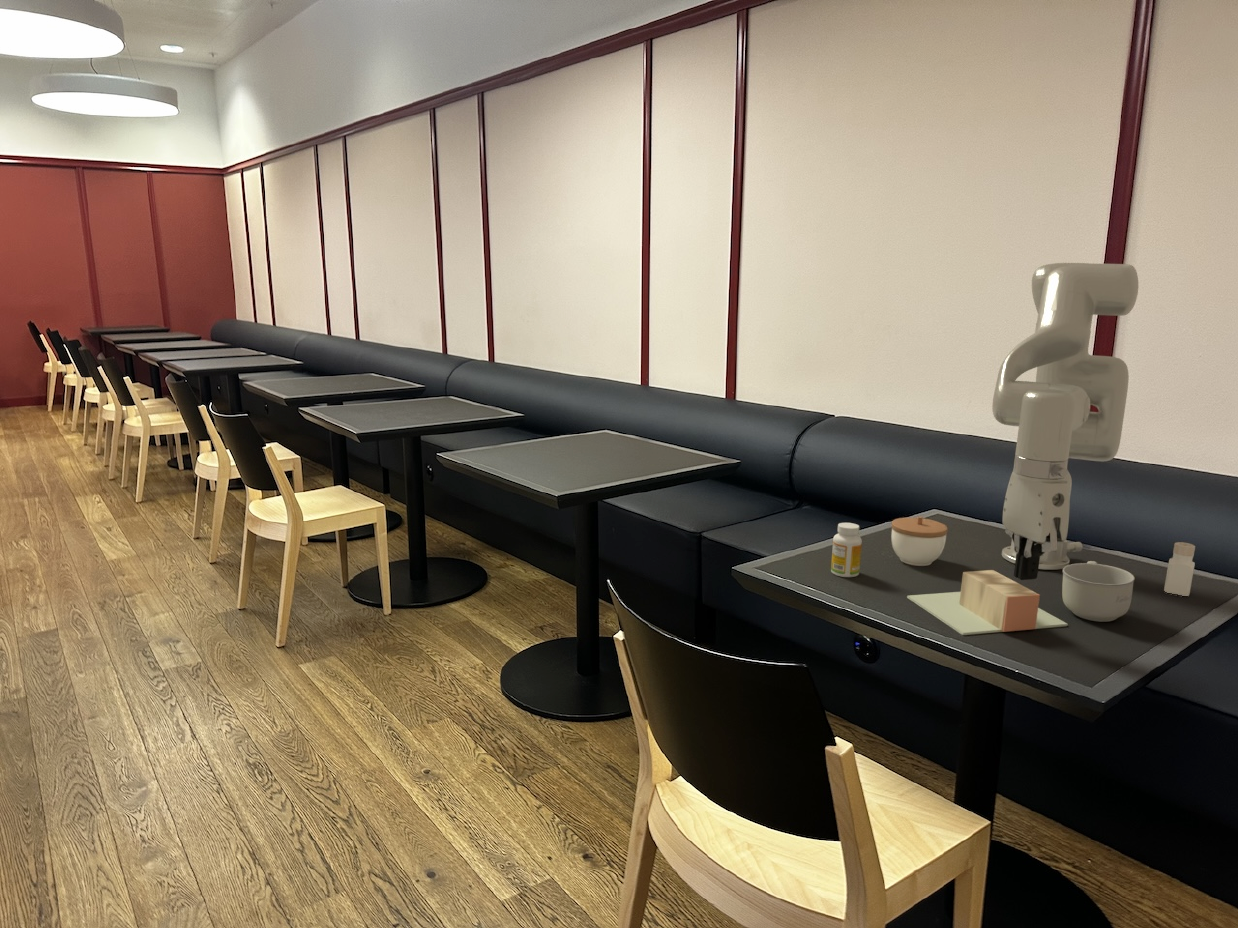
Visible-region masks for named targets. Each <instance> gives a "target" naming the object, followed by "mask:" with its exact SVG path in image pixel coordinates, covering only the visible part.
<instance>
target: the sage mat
mask: <svg viewBox="0 0 1238 928" xmlns="http://www.w3.org/2000/svg"><path fill="white" fill-rule="evenodd" d="M960 594H961V591H953V592H939V593H925V594H912V595H911V594H910V595H907V596H906V598H907V599H908V600H910V601H911V602H913V603H914V604H916V605H917V606H919V607H920V608H922V609H923V610H925V611H926V612H928V613H929V614H931V615H932V616H934V617H935V618H936V619H938V620H940V622H943V623H944V624H945V625H947V626H948V627H950V628H951V629H953V630H954V631H956V632H957V633H959V634H960V635H961V636H968V635H980V634H981V635H982V634H991V633H1004V632H1003V631H1002V630H1000V629H998V628H997V627H995V626H994V625H992V624H990V623H989V622H987V621H986V620H984V619H982V618H981V617H979V616H978V615H976V614H974V613H973V612H971V611H969V610H968V609H966V608H965V607H963V606H961V605H960V604H959V602H960ZM1061 627H1068V623H1067V622H1065V621H1064V620H1061V618H1060V619H1059V618H1058V617H1056V616H1054V615H1052V614H1050V613H1048V612H1047V611H1045V610H1044V609H1041V607H1038V613H1037V620H1036V627H1035V629H1034V630H1037V629H1038V630H1039V629H1049V628H1061Z"/></svg>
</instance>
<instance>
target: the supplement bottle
mask: <svg viewBox="0 0 1238 928" xmlns="http://www.w3.org/2000/svg"><path fill="white" fill-rule="evenodd" d="M859 534H860V525H859V524H856V523H852V522H839V523H838V524H837V533H836V534H835V535H834V536H833V539H832V550H831V551H832V552H831V562H830V565H831V566H830V572H831V574H833V575H834V576H837V577H840V578H854V577H858V576H859V574H860V570H861V569H860V567H861V559H862V558H861V557H862V555H861V554H862V546H863V545H862V544H863V541H862V538H861V537H860V536H859Z"/></svg>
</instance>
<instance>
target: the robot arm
mask: <svg viewBox="0 0 1238 928" xmlns="http://www.w3.org/2000/svg"><path fill="white" fill-rule="evenodd" d="M1031 293H1032V298H1033V302H1034V303H1033V304H1034V305H1035V309H1036V311H1037V320H1036V323H1035V330H1034V333H1033V334H1031V335H1029V336H1028V337H1027V338H1025V339H1023V340H1022V341H1021V342H1020V343H1018V344H1017V345H1016V346H1015V347H1014V348H1013V349H1012V350H1011V351H1010V352H1009V353H1008V354H1007V355H1006V357H1005V358H1004V359H1003V361H1002V362H1001V364H1000V367H999V371H998V375H997V377H996V383H995V387H994V392H993V398H992V413H993V414H992V415H993V417H994V418H995V421H997V422H998V423H1000V424H1002V425H1005V426H1010V427H1011V426H1012V427H1018V431H1017V439H1016V447H1015V454H1014V455H1015V456H1014V461H1013V469H1012V472H1011V474H1010V477H1009V482H1008V485H1007V489H1006V493H1005V498H1004V502H1003V510H1002V525H1003V527H1004V528H1005V530H1004V533H1005V534H1006V535H1008V536H1009V537H1010V538H1011V545H1009V546H1005V547H1004V548H1002V550H1001V557H1002V558H1003V559H1005V560H1006V561H1008V562H1009V563H1011V564H1014V568H1013V569H1014V570H1013V576H1014V577H1015V578H1016V579H1017V578H1018V580H1021V581H1025V580H1026V581H1029V580H1037V578H1038V574H1039V570H1049V571H1053V570H1055V571H1056V570H1063V568H1064V567H1065V566H1068V565H1070V558H1069V556H1067V554H1069V553H1070V552H1081V551H1082V550H1083V544H1082V542H1081V541H1076V542H1075V541H1074V542H1073V541H1071V542H1069V541H1068V540H1067V537H1068V530H1069V519H1070V505H1071V504H1070V501H1071V500H1070V499H1071V493H1072V487H1073V486H1072V485H1073V483H1072V482H1073V481H1072V475H1071V474H1070V472H1069V470H1068V463H1069V459H1073V460H1074V459H1075V460H1084V461H1092V462H1093V461H1094V462H1108V461H1111V460H1113V459H1114V458H1115V457H1116V456H1117V454H1118V451H1119V449H1120V444H1121V439H1122V434H1123V432H1122V431H1123V424H1124V419H1125V409H1126V403H1127V399H1128V388H1129V368H1128V365H1127V363H1126V362H1125V361H1124V359H1121V358H1119V357H1116V356H1109V355H1093V354H1092V355H1091V354H1089V345H1090V341H1091V340H1090V339H1091V333H1092V331H1091V329H1092V324H1093V323H1092V322H1093V317H1094V315H1095V316H1097V315H1098V316H1115V317H1116V316H1117V317H1118V316H1119V317H1121V316H1126V315H1129V314H1130V313H1131V312H1132V310H1133V309H1134V307H1135V304H1136V302H1137V299H1138V293H1139V275H1138V272H1137V270H1136V268H1135V266H1134V265H1132V264H1128V263H1126V264H1125V263H1089V262H1088V263H1087V262H1086V263H1085V262H1055V263H1050V264H1045V265H1041V266H1039V267H1037V269H1036V268H1035V270H1034V271H1033V274H1032V277H1031ZM1035 368H1036V373H1035V374H1036V375H1035V381H1029V380H1028V381H1027V380H1017V379H1018V378H1020V376H1022V374H1024V373H1026V372H1028V371H1030V370H1032V369H1035ZM1091 406H1093V407H1095V408H1097V410H1098V411H1091Z"/></svg>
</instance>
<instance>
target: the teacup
mask: <svg viewBox="0 0 1238 928" xmlns="http://www.w3.org/2000/svg"><path fill="white" fill-rule="evenodd" d="M1134 582H1135V575H1134V574H1132V573H1131V572H1129V571H1127V570H1125V569H1123V568H1120V567H1116V566H1111V565H1107V564H1100V563H1098V562H1097V561H1094V560H1090V561H1089V560H1088V561H1087V562H1083V563H1082V562H1080V563H1072V564H1069V565H1068V566H1065V567H1064V568H1063V569H1062V586H1061V587H1062V588H1061V589H1062V590H1061V591H1062V593H1061V594H1062V595H1061V596H1062V601H1063V604H1064V605H1065V607H1067V609H1068V610H1070V611H1071V612H1072V613H1073V614H1074V615H1075V616H1076V617H1079V618H1081V619H1083V620H1087V621H1092V622H1098V623H1099V622H1101V623H1104V622H1106V623H1108V622H1113V621H1115V620H1117V619H1118V618H1120V617H1123V616H1124V615H1125V614H1127V612H1128V611H1129V609H1130V606H1131V602H1132V597H1133V590H1134Z"/></svg>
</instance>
